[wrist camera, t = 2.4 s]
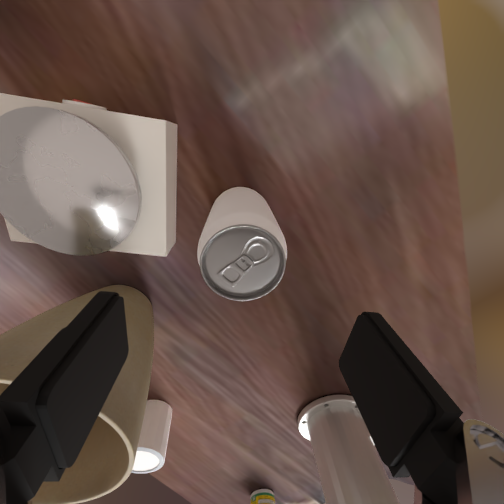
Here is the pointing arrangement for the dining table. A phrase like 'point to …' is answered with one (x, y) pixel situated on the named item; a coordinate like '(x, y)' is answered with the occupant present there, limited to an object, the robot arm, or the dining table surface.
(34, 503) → the plant pot
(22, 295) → the dining table surface
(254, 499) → the supplement bottle
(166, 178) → the scale housing
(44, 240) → the scale pan
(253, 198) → the can
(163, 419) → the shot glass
